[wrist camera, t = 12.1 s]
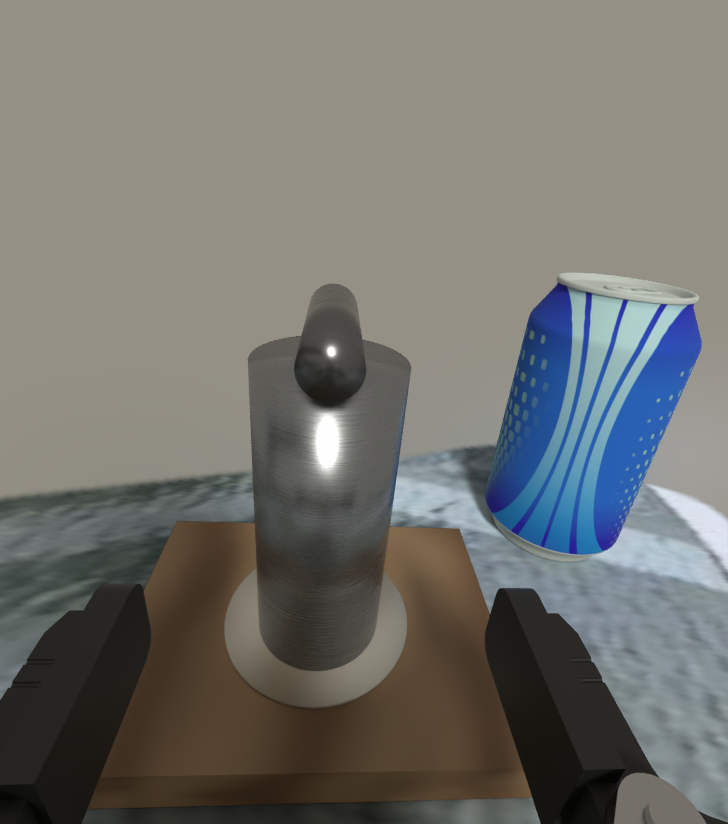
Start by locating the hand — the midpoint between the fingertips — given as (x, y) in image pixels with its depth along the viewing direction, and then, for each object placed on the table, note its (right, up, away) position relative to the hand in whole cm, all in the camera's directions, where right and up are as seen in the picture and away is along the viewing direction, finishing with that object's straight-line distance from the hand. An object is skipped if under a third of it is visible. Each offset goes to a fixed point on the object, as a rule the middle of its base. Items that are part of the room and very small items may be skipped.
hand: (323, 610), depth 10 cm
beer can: (+13, -3, +20) cm, 24 cm away
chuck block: (-1, -6, +11) cm, 12 cm away
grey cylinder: (-1, -4, +10) cm, 11 cm away
